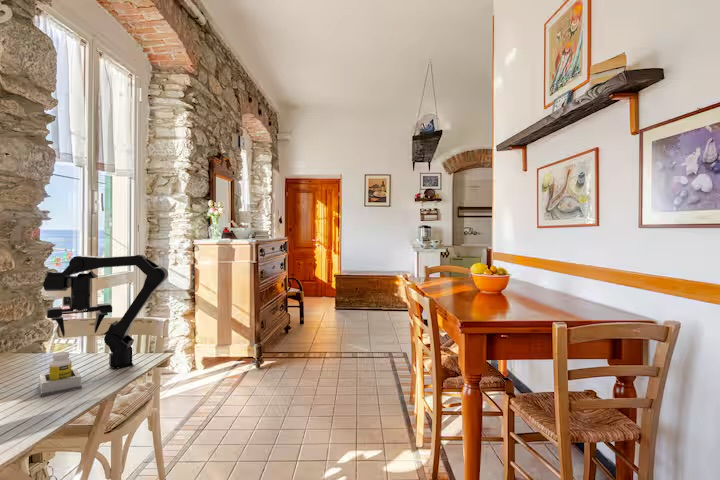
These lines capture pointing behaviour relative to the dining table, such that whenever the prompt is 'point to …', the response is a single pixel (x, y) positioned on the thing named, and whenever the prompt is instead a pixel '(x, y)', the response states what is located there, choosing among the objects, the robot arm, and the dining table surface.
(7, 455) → the dining table surface
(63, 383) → the socket collar
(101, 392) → the dining table surface
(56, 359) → the supplement bottle
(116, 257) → the robot arm
